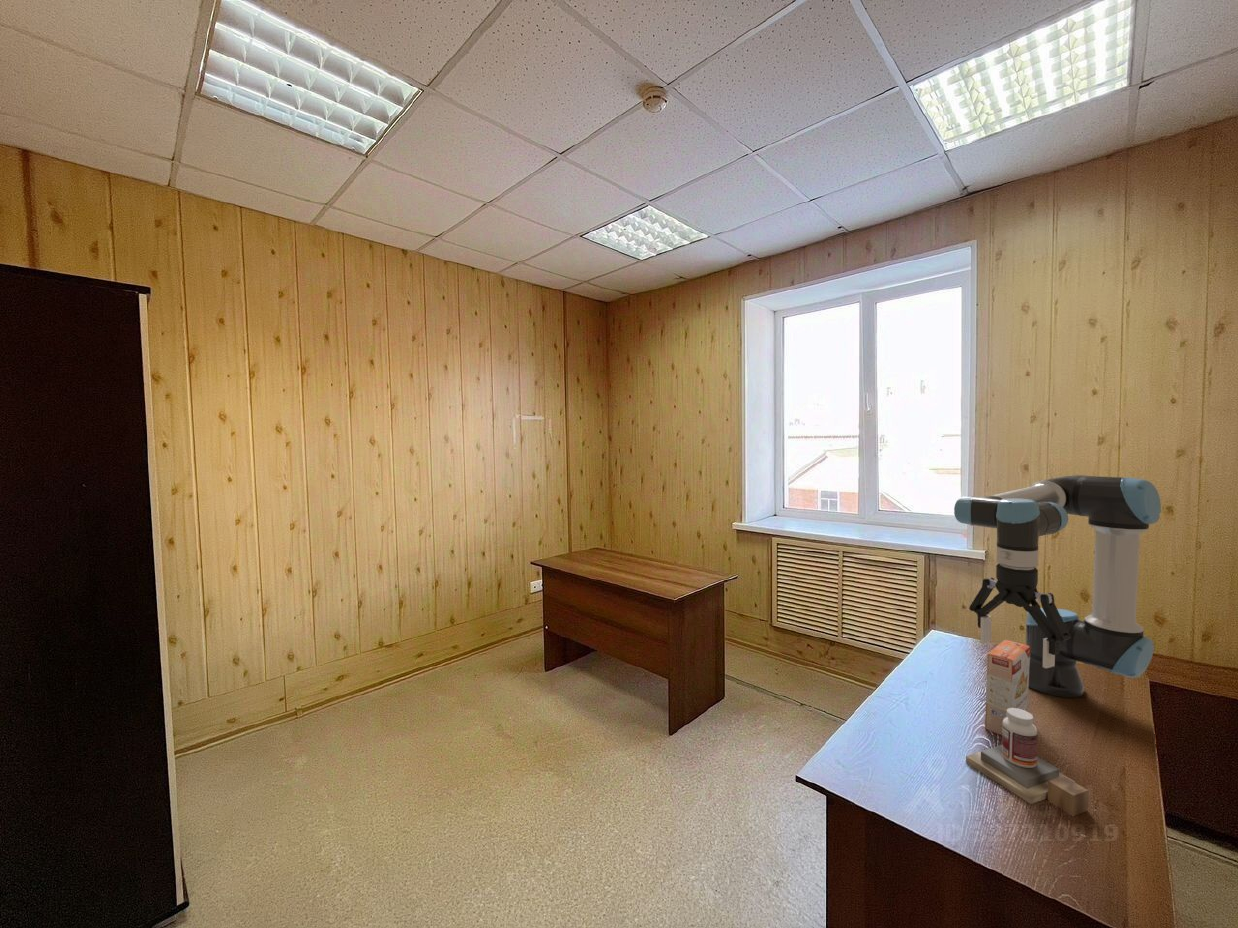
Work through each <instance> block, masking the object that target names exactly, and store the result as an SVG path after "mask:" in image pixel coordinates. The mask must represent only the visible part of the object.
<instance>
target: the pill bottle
mask: <svg viewBox="0 0 1238 928" xmlns="http://www.w3.org/2000/svg"><path fill="white" fill-rule="evenodd" d="M1001 740H1002V741H1001V743H1002V744H1001V745H1002V754H1003V756H1004V758H1005V759H1006V760H1007V761H1009V762H1011V763H1012V764H1015V765H1017V766H1020V767H1024V768H1033V767H1035V766H1036V765H1037V757H1038V729H1037V727H1036V725H1035V724H1034V715H1033V714H1032V713H1031V712H1028V710H1027V711H1025V710H1022V709H1018V708H1008V709H1007V717H1006V718H1004V719H1003V725H1002V736H1001Z"/></svg>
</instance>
